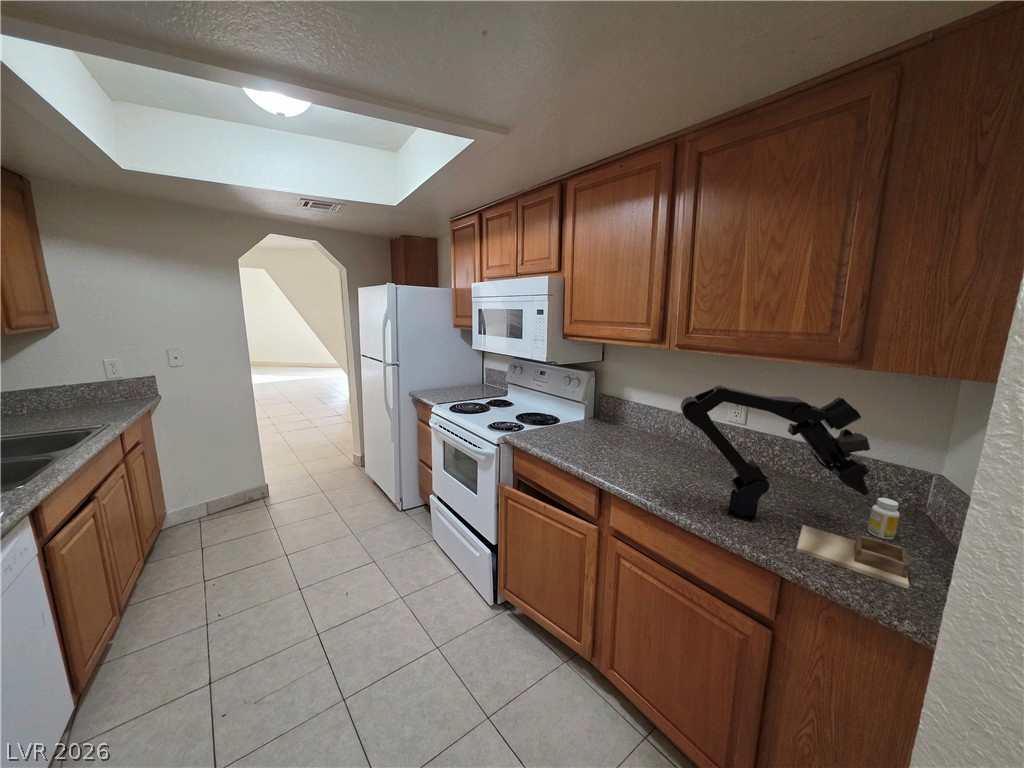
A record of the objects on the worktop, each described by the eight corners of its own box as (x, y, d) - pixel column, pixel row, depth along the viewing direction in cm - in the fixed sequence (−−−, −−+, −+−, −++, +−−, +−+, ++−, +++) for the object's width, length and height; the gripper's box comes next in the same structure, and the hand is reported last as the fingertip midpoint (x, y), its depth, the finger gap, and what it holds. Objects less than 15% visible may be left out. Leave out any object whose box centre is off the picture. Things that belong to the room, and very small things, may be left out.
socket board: (796, 551, 96) (798, 536, 95) (802, 528, 106) (804, 514, 105) (908, 589, 83) (912, 572, 82) (902, 558, 94) (905, 543, 93)
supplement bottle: (866, 534, 104) (873, 500, 102) (867, 526, 108) (874, 494, 106) (894, 542, 100) (902, 508, 98) (894, 534, 104) (901, 501, 102)
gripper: (870, 433, 92) (914, 486, 91) (834, 413, 109) (870, 459, 109) (822, 457, 96) (863, 509, 95) (794, 435, 113) (829, 478, 113)
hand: (857, 487), depth 103 cm, fingers open, 9 cm apart
